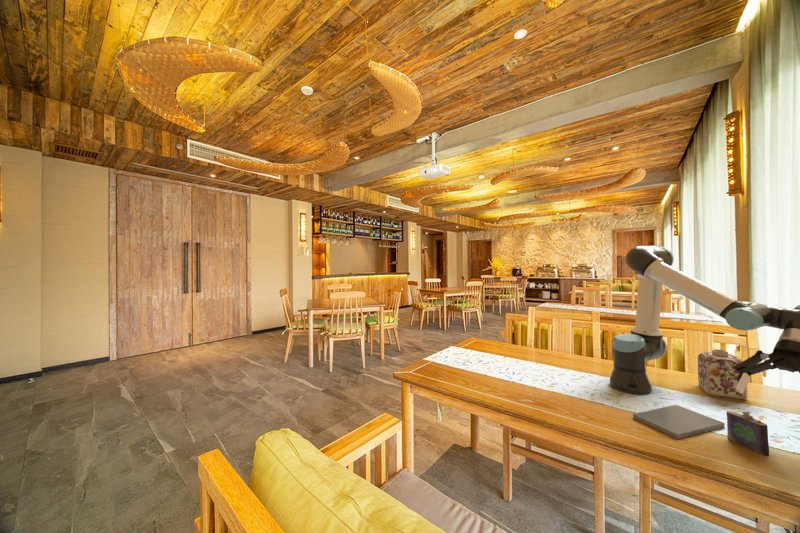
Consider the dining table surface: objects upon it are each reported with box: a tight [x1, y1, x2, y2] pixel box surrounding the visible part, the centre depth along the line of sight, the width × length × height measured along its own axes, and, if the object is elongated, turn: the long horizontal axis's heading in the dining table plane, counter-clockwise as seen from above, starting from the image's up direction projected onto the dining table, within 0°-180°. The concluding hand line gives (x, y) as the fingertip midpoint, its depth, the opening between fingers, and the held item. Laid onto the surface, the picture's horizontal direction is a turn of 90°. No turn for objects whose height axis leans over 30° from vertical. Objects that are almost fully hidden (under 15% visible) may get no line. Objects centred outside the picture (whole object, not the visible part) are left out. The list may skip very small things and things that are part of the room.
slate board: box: [632, 404, 725, 440], centre depth 103 cm, size 14×22×2 cm, turn 105°
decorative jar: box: [697, 348, 748, 401], centre depth 125 cm, size 12×12×18 cm
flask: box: [725, 410, 770, 457], centre depth 89 cm, size 9×3×11 cm, turn 8°
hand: (769, 399), depth 91 cm, fingers open, 13 cm apart
